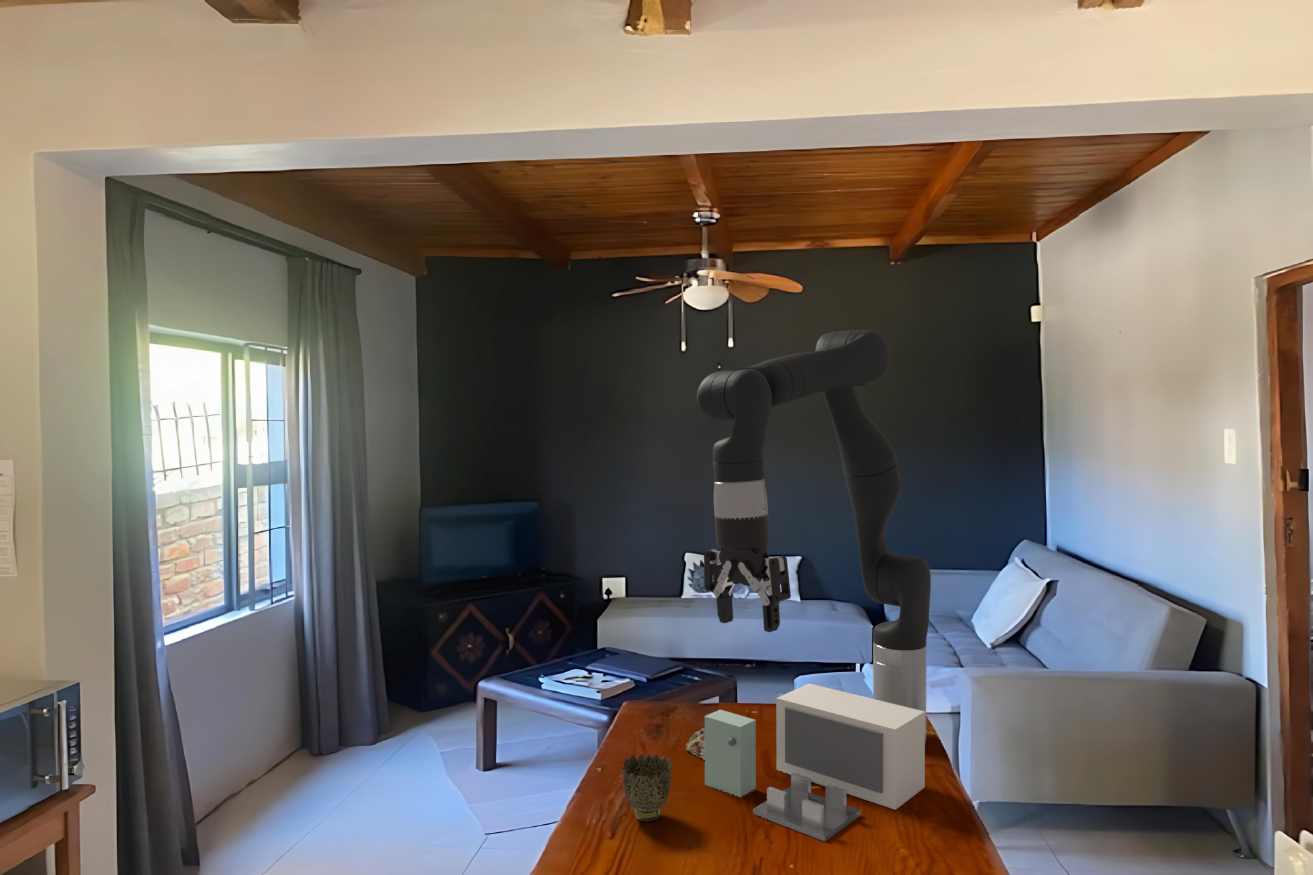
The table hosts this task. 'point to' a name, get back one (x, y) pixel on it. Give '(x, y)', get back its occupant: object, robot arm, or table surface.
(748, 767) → the pale green rectangular box
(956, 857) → the table surface
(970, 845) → the table surface
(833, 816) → the grey holder base
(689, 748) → the mineral rock
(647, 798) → the cup
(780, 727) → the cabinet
